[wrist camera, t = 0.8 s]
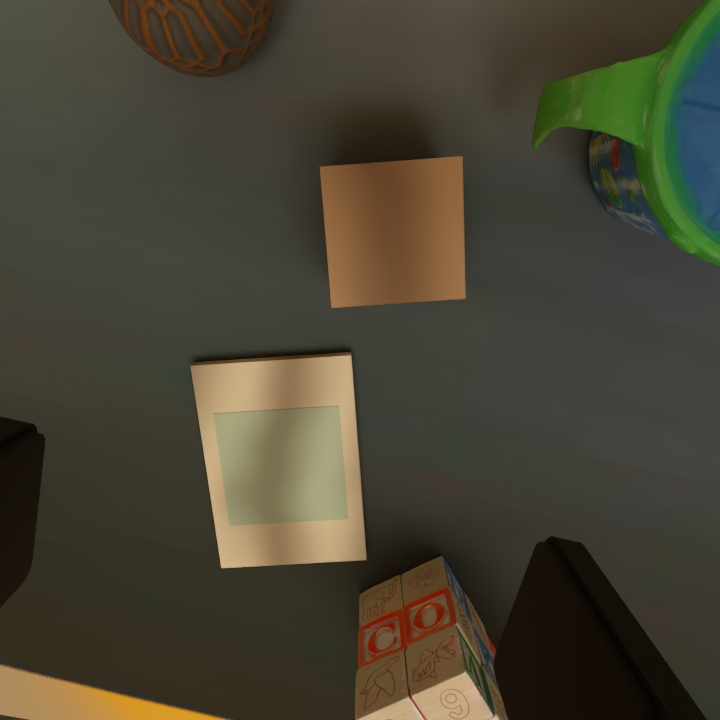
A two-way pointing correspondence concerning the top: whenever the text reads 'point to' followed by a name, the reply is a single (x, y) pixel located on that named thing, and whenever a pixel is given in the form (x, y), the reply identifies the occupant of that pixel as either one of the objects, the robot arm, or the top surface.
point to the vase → (197, 31)
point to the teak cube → (394, 231)
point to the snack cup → (653, 134)
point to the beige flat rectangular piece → (282, 458)
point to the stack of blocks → (424, 651)
